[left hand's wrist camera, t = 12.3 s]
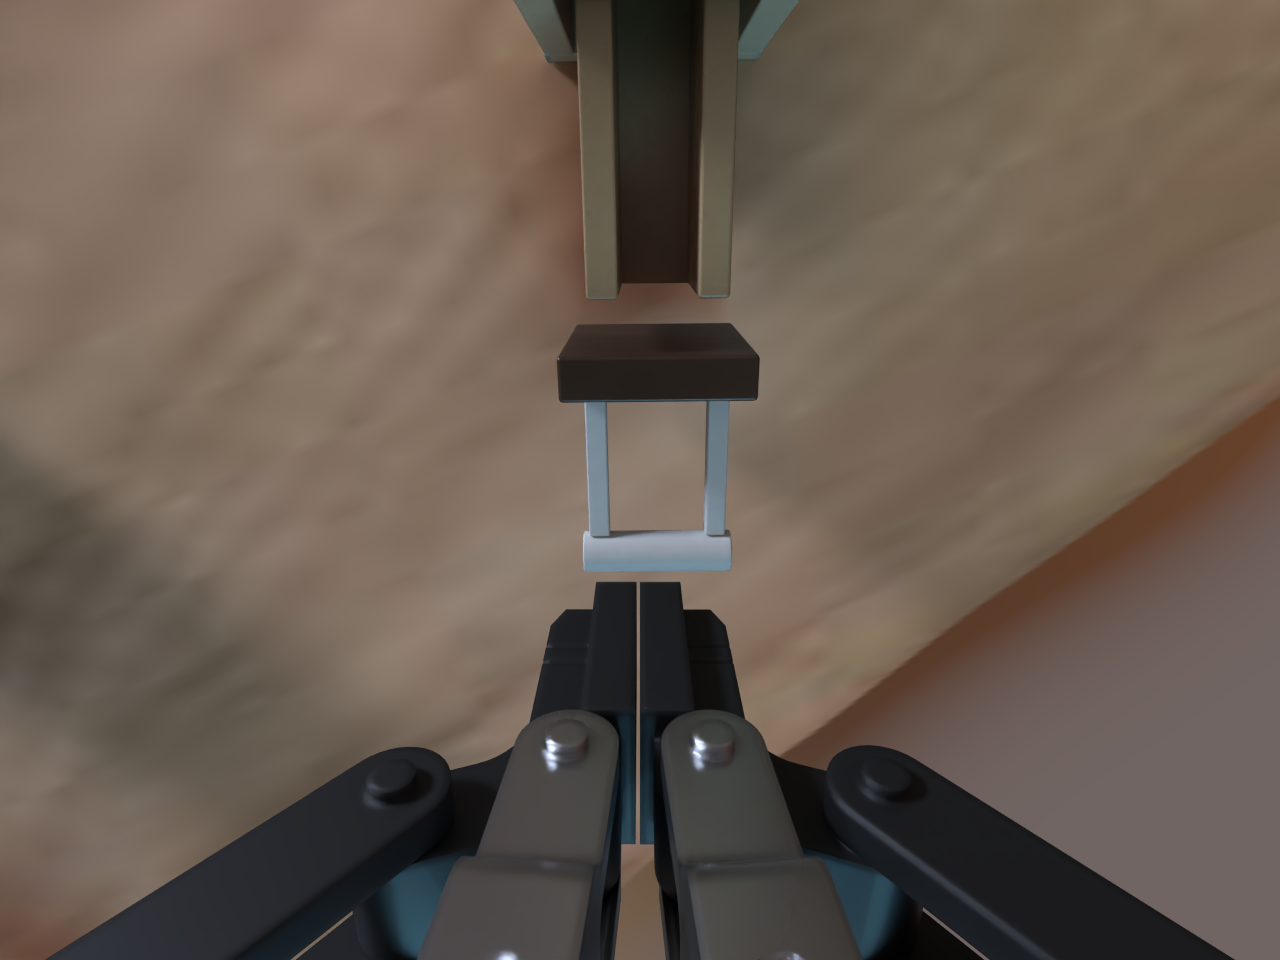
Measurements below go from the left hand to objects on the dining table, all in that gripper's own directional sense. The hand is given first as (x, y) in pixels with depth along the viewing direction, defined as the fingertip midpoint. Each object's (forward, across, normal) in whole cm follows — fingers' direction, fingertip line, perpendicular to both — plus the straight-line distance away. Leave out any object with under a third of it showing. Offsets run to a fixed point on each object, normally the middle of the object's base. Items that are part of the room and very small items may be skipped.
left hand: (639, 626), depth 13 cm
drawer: (+13, 0, +8) cm, 15 cm away
